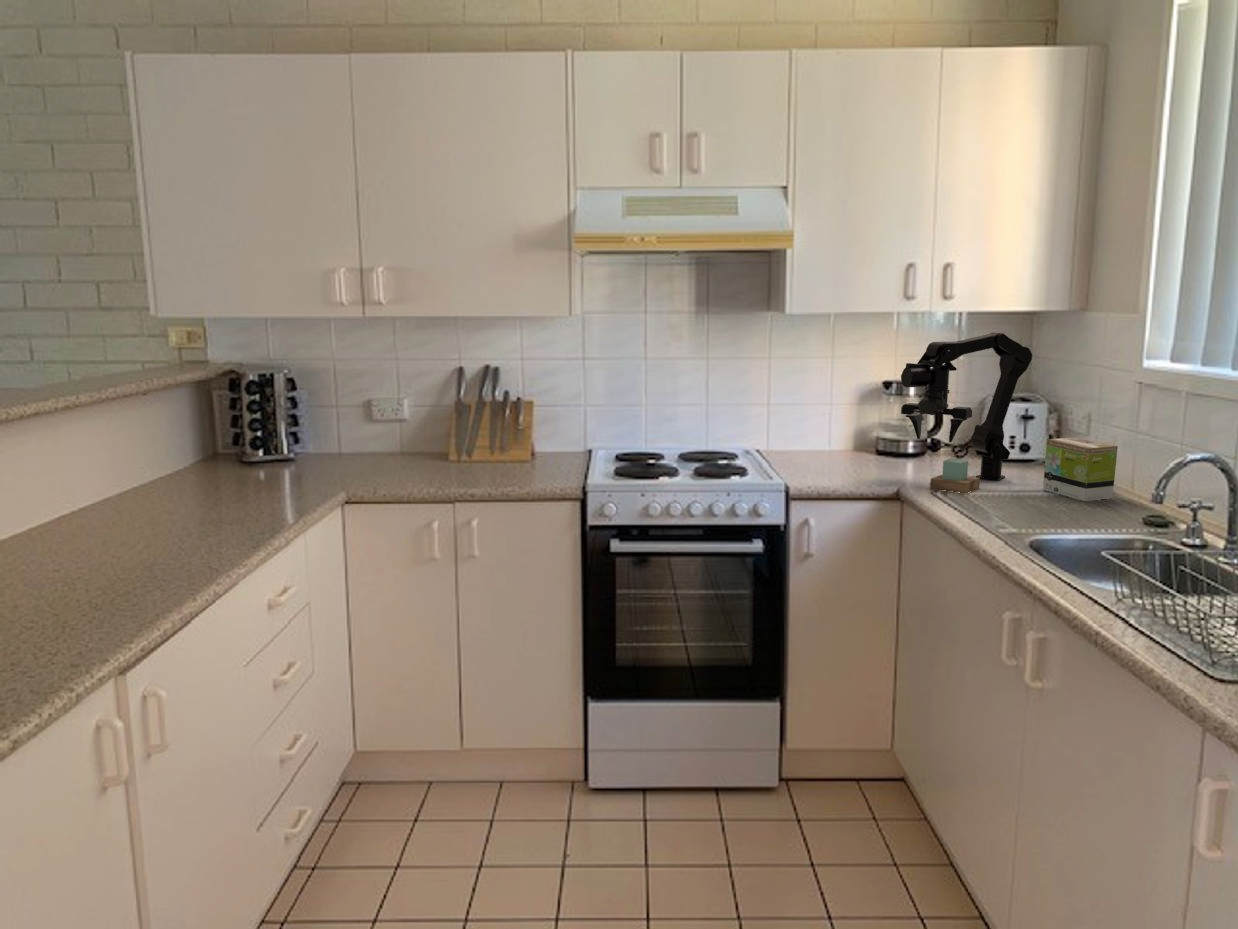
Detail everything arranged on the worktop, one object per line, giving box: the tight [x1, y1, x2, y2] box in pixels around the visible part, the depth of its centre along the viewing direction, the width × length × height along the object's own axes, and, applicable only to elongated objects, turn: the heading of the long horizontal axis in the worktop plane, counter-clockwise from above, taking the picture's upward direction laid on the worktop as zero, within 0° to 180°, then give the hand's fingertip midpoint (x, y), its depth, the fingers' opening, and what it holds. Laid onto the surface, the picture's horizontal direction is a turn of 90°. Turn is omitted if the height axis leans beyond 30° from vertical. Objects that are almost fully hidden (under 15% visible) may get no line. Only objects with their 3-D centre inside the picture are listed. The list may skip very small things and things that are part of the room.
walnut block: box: [929, 473, 981, 494], centre depth 257 cm, size 10×10×4 cm
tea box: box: [1042, 436, 1119, 502], centre depth 248 cm, size 15×10×15 cm, turn 19°
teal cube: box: [941, 458, 969, 481], centre depth 256 cm, size 5×5×5 cm
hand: (934, 440), depth 266 cm, fingers open, 9 cm apart
